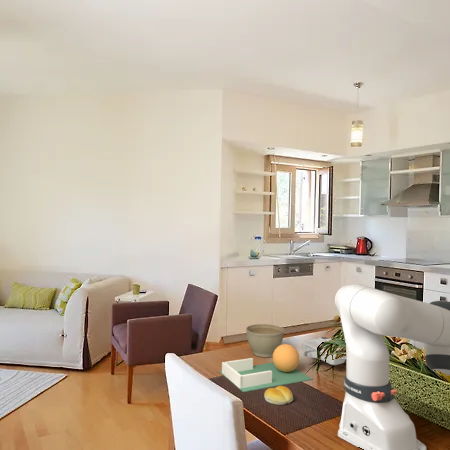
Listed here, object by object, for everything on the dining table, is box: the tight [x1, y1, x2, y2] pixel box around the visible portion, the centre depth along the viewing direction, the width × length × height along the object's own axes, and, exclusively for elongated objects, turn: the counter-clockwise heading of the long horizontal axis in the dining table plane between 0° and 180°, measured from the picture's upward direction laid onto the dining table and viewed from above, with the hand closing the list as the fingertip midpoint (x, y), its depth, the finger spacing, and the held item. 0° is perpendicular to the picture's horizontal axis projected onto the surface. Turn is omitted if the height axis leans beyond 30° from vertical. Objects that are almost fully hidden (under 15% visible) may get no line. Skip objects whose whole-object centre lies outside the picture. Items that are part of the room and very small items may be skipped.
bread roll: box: [263, 385, 294, 406], centre depth 130 cm, size 8×9×4 cm
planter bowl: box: [245, 323, 285, 358], centre depth 174 cm, size 16×16×11 cm
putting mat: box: [218, 362, 314, 393], centre depth 150 cm, size 20×28×1 cm
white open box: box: [221, 357, 272, 389], centre depth 146 cm, size 15×12×4 cm
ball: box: [272, 343, 300, 372], centre depth 153 cm, size 10×10×10 cm
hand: (305, 354), depth 157 cm, fingers closed
